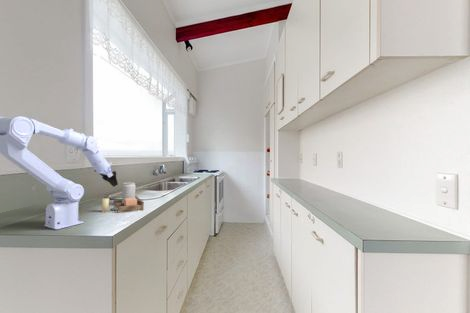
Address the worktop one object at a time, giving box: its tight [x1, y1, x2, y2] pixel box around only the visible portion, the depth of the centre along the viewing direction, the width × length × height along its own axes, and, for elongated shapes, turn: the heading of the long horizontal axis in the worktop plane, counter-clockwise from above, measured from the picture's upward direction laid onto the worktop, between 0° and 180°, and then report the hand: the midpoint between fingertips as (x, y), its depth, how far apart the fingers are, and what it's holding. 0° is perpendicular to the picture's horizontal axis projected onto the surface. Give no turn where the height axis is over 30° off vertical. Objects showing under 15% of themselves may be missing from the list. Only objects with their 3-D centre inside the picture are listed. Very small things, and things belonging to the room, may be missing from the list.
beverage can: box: [121, 182, 137, 203], centre depth 120 cm, size 6×6×12 cm
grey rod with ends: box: [101, 197, 137, 213], centre depth 110 cm, size 15×5×6 cm, turn 125°
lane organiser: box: [112, 195, 145, 213], centre depth 116 cm, size 11×18×4 cm, turn 35°
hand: (112, 182), depth 107 cm, fingers open, 7 cm apart
